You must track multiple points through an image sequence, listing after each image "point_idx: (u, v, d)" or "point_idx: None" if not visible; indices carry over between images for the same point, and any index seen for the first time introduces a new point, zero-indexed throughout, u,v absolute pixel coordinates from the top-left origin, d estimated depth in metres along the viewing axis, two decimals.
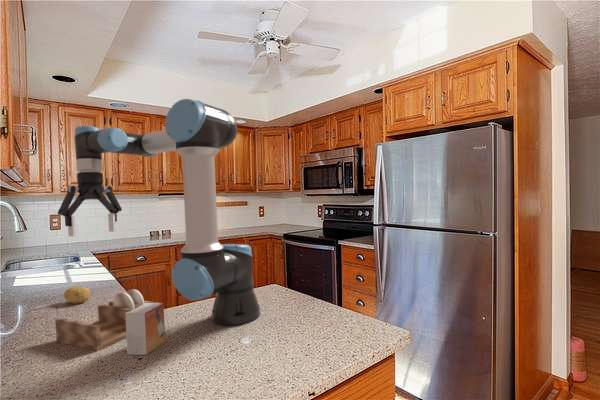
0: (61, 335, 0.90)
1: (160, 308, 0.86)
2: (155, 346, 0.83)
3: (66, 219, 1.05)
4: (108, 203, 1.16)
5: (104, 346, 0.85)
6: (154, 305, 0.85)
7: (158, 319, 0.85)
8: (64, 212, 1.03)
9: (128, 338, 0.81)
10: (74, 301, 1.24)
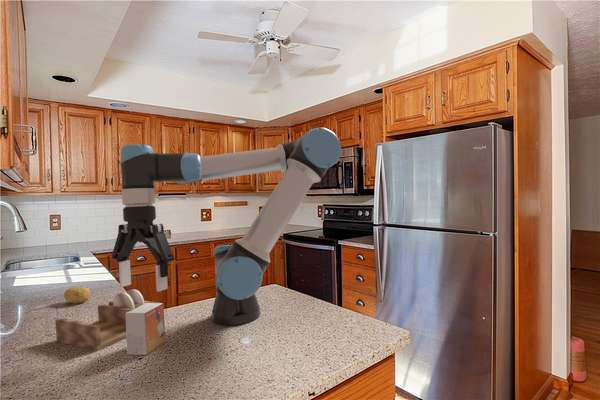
0: (61, 335, 0.90)
1: (160, 308, 0.86)
2: (155, 346, 0.83)
3: None
4: (151, 249, 0.81)
5: (104, 346, 0.85)
6: (154, 305, 0.85)
7: (158, 319, 0.85)
8: (113, 256, 0.87)
9: (128, 338, 0.81)
10: (74, 301, 1.24)
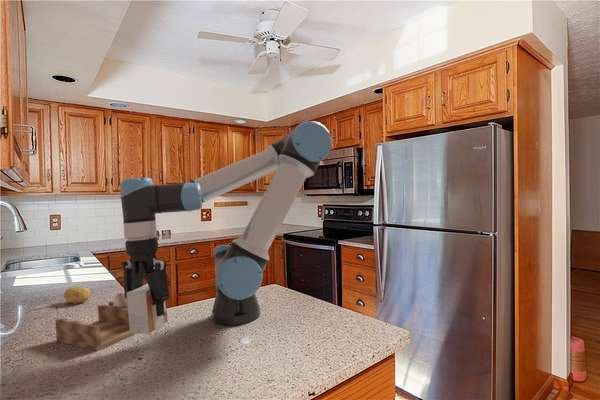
0: (61, 335, 0.90)
1: None
2: None
3: None
4: (150, 286, 0.82)
5: (104, 346, 0.85)
6: None
7: None
8: (126, 296, 0.86)
9: (130, 317, 0.81)
10: (74, 301, 1.24)
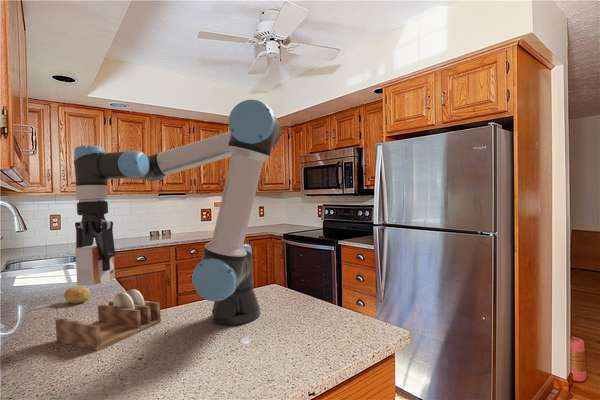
0: (61, 335, 0.90)
1: None
2: None
3: None
4: (97, 244, 0.90)
5: (104, 346, 0.85)
6: None
7: None
8: None
9: (78, 271, 0.90)
10: (74, 301, 1.24)
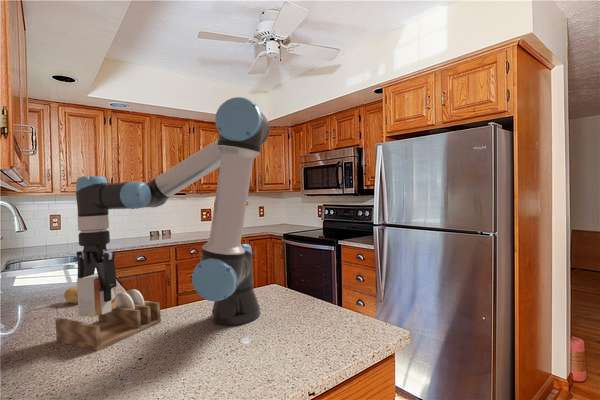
0: (61, 335, 0.90)
1: None
2: None
3: None
4: (99, 274, 0.91)
5: (104, 346, 0.85)
6: None
7: None
8: None
9: (79, 301, 0.90)
10: (74, 301, 1.24)
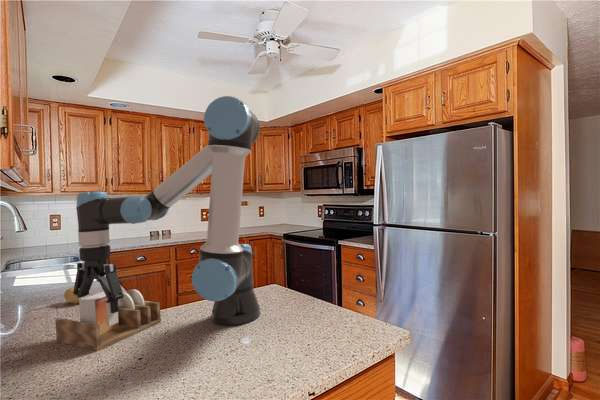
0: (61, 335, 0.90)
1: None
2: (107, 330, 0.92)
3: None
4: (103, 287, 0.90)
5: (104, 346, 0.85)
6: None
7: None
8: (74, 292, 0.96)
9: None
10: (74, 301, 1.24)
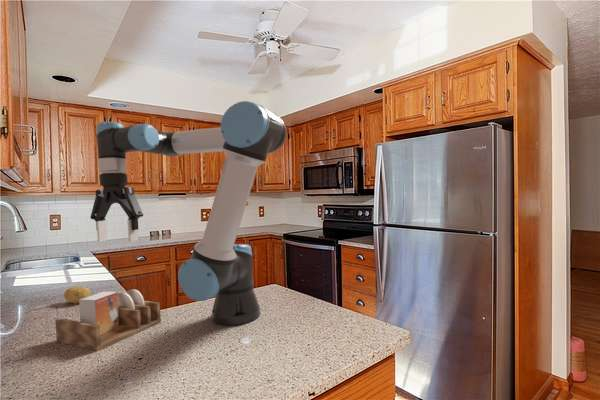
0: (61, 335, 0.90)
1: (113, 296, 0.95)
2: (107, 330, 0.92)
3: None
4: (124, 207, 0.98)
5: (104, 346, 0.85)
6: (108, 293, 0.94)
7: (110, 306, 0.93)
8: (91, 217, 1.04)
9: None
10: (74, 301, 1.24)
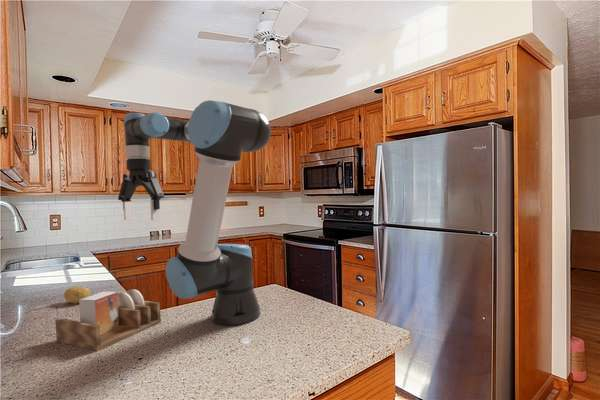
0: (61, 335, 0.90)
1: (113, 296, 0.95)
2: (107, 330, 0.92)
3: None
4: (147, 189, 1.11)
5: (104, 346, 0.85)
6: (108, 293, 0.94)
7: (110, 306, 0.93)
8: (119, 198, 1.17)
9: None
10: (74, 301, 1.24)
